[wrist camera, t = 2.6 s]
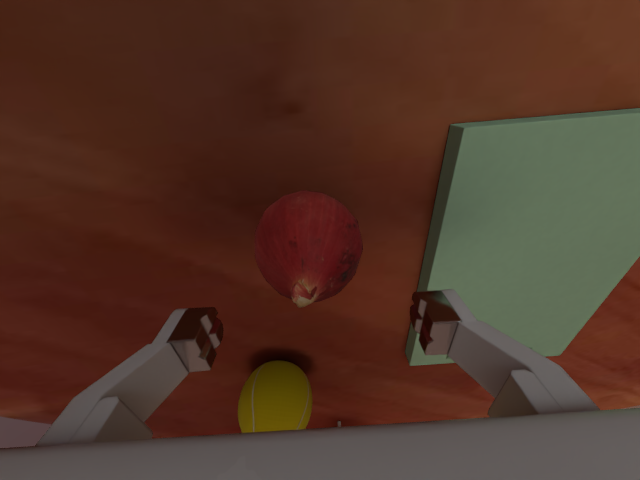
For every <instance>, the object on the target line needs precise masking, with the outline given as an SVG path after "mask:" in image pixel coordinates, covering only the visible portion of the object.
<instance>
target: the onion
mask: <svg viewBox="0 0 640 480" xmlns="http://www.w3.org/2000/svg"><path fill="white" fill-rule="evenodd" d="M362 250H363V245H362V239H361V234H360V230H359V226H358V221H357V220H356V219H355V218H354V216H353V215H352V214H351V213H350V212H349V211H348V209H347V208H346V207H345V206H344V205H343V204H342V203H341V202H340V201H338V200H336V199H334V198H332V197H330V196H328V195H326V194H324V193H321V192H313V191H304V190H303V191H299V192H295V193H292V194H288V195H284V196H282V197H281V198H280V199H278V200H277V201H276V202H274V203H273V204H272V205H270V206H269V207H268V208H267V209H266V211H265V212H264V213H263V215H262V218H261V220H260V222H259V224H258V226H257V228H256V230H255V258H256V262H257V265H258V267H259V269H260V271H261V273H262V275H263V277H264V278H265V279H266V281H267V282H268V283H269V284H270V285H271V286H272V287H273V288H274V289H275V290H276V291H278V292H279V293H280V294H281V295H283V296H285V297H288V298H290V299H292V300H293V301H294V303H296V304H297V306H298V307H304V306H307V305H309V304H311V303H312V302H318V301H323V300H325V299H327V298H330V297H332V296H334V295H336V294H337V293H339V292H340V291H341V290H342V289H343V288H344V287H345V286H346V284H347V283H348V282H349V281H350V280H351V279H352V278H353V276H354V275H355V273H356V269H357V266H358V263H359V260H360V257H361V253H362Z"/></svg>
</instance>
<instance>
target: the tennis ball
mask: <svg viewBox="0 0 640 480" xmlns="http://www.w3.org/2000/svg"><path fill="white" fill-rule="evenodd" d="M311 410H312V391H311V386H310V383H309V380H308V378H307V376H306V375H305V373H304V372H303V371H302V370H301V369H300V368H299V367H298V366H296V365H295V364H293V363H290V362H287V361H279V360H277V361H270V362H267V363H265V364H263V365H261V366H259V367H258V368H257V369H256V370H255V371H254V372H253V373H252V374H251V375H250V376H249V378H248V379H247V381H246V382H245V384H244V386H243V389H242V391H241V394H240V398H239V403H238V419H239V424H240V428H241V431H242V433H250V432H265V431H281V430H297V429H305V428H306V426H307V424H308V421H309V418H310V415H311Z"/></svg>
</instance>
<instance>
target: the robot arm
mask: <svg viewBox="0 0 640 480" xmlns="http://www.w3.org/2000/svg"><path fill="white" fill-rule="evenodd" d="M412 300H413V302H414V304H413V305H412V306H411V307H410V320H411V323H412V326H413V329H414V330H415V331H416V332H417V333H419V334H420V335H419V342H420V345H421V347H422V349H423V351H424V354H425V355H448V356H449V357H450V358H451V359H452V360H453V361H454V362H455V363H457V364H458V365H459V366H460V367H461V368H462V369H463V370H464V371H465V372H467V373H468V374H469V375H470V376H471V377H472V378H473V379H474V380H475V381H477V382H478V383H479V384H480V385H481V386H482V387H483V388H484V389H485V390H487V391H488V392H489V393H490V394H491V395H492V396H493V397H494V398H495V400H494V401H493V403H492V405H491V406H490V408H489V410H488V415H489V417H488V418H473V419H457V420H441V421H425V422H409V423H393V424H377V425H361V426H345V427H329V428H313V429H297V430H281V431H265V432H250V433H234V434H218V435H202V436H186V437H171V438H155V439H151V438H152V435H153V433H152V430H151V429H150V428H149V427H148V426H147V425H146V424H145V423H144V422H145V421H146V420H147V418H148V417H149V416H150V415H151V414H152V413H153V412H154V411H155V410H156V409H157V408H158V406H159V405H160V404H161V403H162V402H163V401H164V400H165V399H166V398H167V397H168V396H169V394H170V393H171V392H172V391H173V390H174V389H175V388H176V387H177V386H178V385H179V384H180V382H181V381H182V380H183V379H184V378H185V377H186V376H187V375H188V374H189V373H188V372H195V371H206V370H211V367H212V365H213V362H214V359H215V357H216V351H215V348H216V347H218V346H219V345H220V344H221V341H222V338H223V324H222V322H221V320H219V319H218V318H216V316H217V314H218V312H217V310H216V308H215V307H201V308H185V309H176V310H175V311H173V312H172V314H171V315H170V317H169V318H168V320H167V321H166V323H165V324H164V326H163V327H162V329H161V330H160V332H159V333H158V335H157V336H156V338H155V339H154V341H153V342H152V344H147V345H146V346H144V347H143V348H142V349H140V350H139V351H138V352H136V353H135V354H133V355H132V356H131V357H129V358H128V359H127V360H125V361H124V362H122V363H121V364H120V365H118V366H117V367H116V368H114V369H113V370H111V371H110V372H109V373H107V374H106V375H104V376H103V377H102V378H100V379H99V380H98V381H96V382H95V383H93V384H92V385H91V386H89V387H88V388H87V389H85V390H84V391H82V392H81V393H80V394H78V395H77V396H75V397H74V398H73V399H72V400H71V402H70V403H69V404H68V405H67V407H66V408H65V409H64V410H63V412H62V413H61V414H60V415H59V417H58V418H57V419H56V420H55V422H54V423H53V424H52V425H51V427H50V428H49V429H48V430H47V432H46V433H45V434H44V435H43V436H42V438H41V439H40V440H39V441H38V443H37V444H36V445H35V446H30V447H14V448H0V480H640V408H631V409H614V410H600V409H599V408H598V407H597V406H596V405H595V403H594V402H593V401H592V400H591V399H590V398H589V397H588V396H587V395H586V394H585V393H584V392H583V390H582V389H581V388H580V387H579V386H578V385H577V384H576V383H575V382H574V381H573V380H572V378H571V377H570V376H569V375H568V374H567V373H566V372H565V371H564V370H563V369H562V368H561V367H560V366H559V365H557V364H556V363H554V362H552V361H550V360H549V359H547V358H545V357H544V356H542V355H540V354H538V353H537V352H535V351H533V350H532V349H530V348H528V347H526V346H525V345H523V344H521V343H519V342H518V341H516V340H514V339H513V338H511V337H509V336H507V335H506V334H504V333H502V332H500V331H499V330H497V329H495V328H494V327H492V326H490V325H488V324H487V323H485V322H483V321H478V320H477V319H476V318H475V316H474V315H473V314H472V312H471V311H470V310H469V308H468V307H467V306H466V304H465V303H464V302H463V300H462V299H461V298H460V296H459V295H458V294H457V292H456V291H455V290H453V289H445V290H433V291H421V292H414V293H413V296H412Z"/></svg>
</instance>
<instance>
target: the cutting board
mask: <svg viewBox="0 0 640 480" xmlns="http://www.w3.org/2000/svg"><path fill="white" fill-rule="evenodd" d="M639 256H640V108H634V109H623V110H611V111H599V112H588V113H576V114H564V115H553V116H541V117H529V118H518V119H506V120H494V121H483V122H471V123H459V124H451V125H450V129H449V134H448V139H447V144H446V149H445V154H444V159H443V164H442V169H441V174H440V179H439V184H438V189H437V194H436V199H435V204H434V209H433V214H432V219H431V224H430V229H429V234H428V239H427V244H426V249H425V254H424V259H423V264H422V269H421V274H420V279H419V284H418V289H417V292H421V291H433V290H445V289H453V290H455V291H456V292H457V294H458V295H459V296H460V298H461V299H462V300H463V302H464V303H465V304H466V306H467V307H468V308H469V310H470V311H471V312H472V314H473V315H474V316H475V318H476V319H477V320H478V321H483V322H485V323H487V324H488V325H490V326H492V327H494V328H495V329H497V330H499V331H500V332H502V333H504V334H506V335H507V336H509V337H511V338H513V339H514V340H516V341H518V342H519V343H521V344H523V345H525V346H526V347H528V348H530V349H532V350H533V351H535V352H537V353H538V354H540V355H542V356H544V357H545V356H559V355H561V353H562V352H563V351H564V350H565V348H566V347H567V346H568V345H569V343H570V342H571V341H572V340H573V338H574V337H575V336H576V335H577V333H578V332H579V331H580V330H581V328H582V327H583V326H584V325H585V323H586V322H587V321H588V320H589V318H590V317H591V316H592V315H593V313H594V312H595V311H596V310H597V308H598V307H599V306H600V305H601V303H602V302H603V301H604V300H605V299H606V297H607V296H608V295H609V294H610V292H611V291H612V290H613V289H614V287H615V286H616V285H617V284H618V282H619V281H620V280H621V279H622V277H623V276H624V275H625V274H626V272H627V271H628V270H629V269H630V267H631V266H632V265H633V264H634V262H635V261H636V260H637V259H638V257H639ZM419 335H420V334H419V333H417V332H416V331H415V330H414V329H413V326H412V323H411V324H410V329H409V334H408V339H407V344H406V350H405V354H406V357H407V360H408V362H409V365H410V366H414V365H429V364H443V363H455V362H454V361H453V360H452V359H451V358H450V357H449V356H448V355H425V354H424V351H423V349H422V347H421V345H420V342H419Z"/></svg>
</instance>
